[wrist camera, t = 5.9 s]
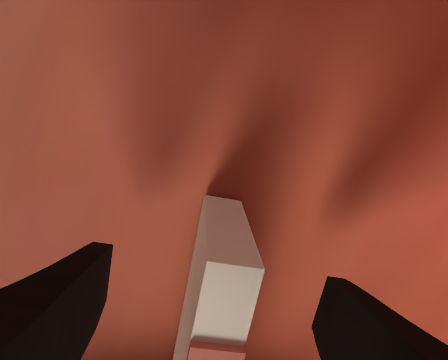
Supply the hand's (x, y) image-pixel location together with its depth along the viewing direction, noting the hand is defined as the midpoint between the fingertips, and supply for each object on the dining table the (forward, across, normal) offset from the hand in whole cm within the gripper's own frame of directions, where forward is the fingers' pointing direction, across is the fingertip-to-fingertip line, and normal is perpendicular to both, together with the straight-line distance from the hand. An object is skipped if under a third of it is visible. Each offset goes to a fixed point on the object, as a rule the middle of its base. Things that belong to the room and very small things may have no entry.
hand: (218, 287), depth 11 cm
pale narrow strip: (+3, 0, +4) cm, 5 cm away
